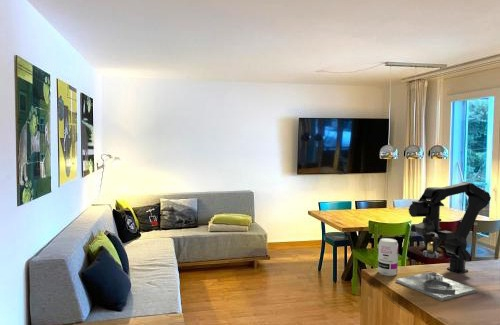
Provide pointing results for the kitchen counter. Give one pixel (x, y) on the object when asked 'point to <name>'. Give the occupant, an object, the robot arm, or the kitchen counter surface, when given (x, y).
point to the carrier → (436, 286)
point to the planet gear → (430, 251)
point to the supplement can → (388, 257)
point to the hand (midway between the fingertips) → (431, 250)
